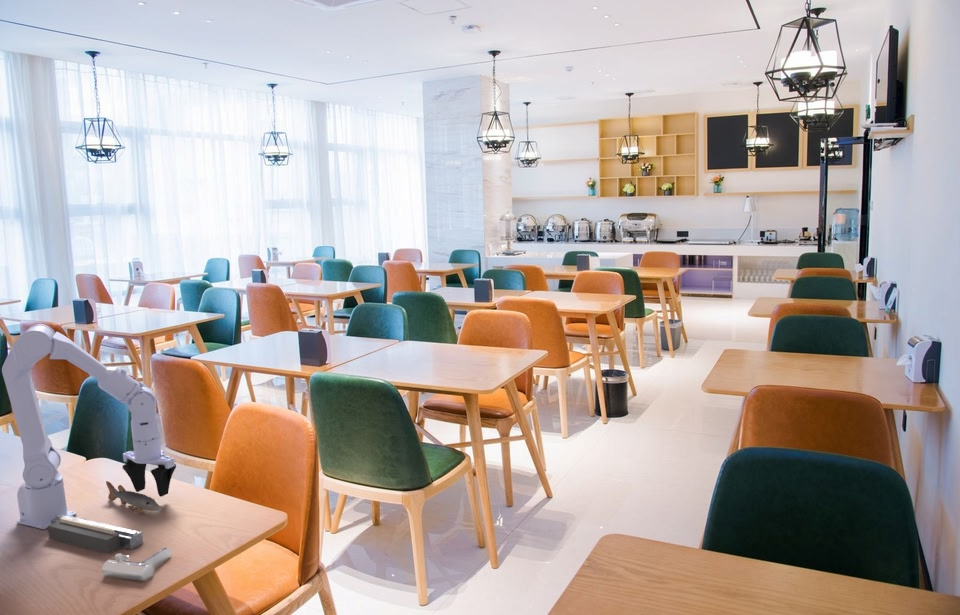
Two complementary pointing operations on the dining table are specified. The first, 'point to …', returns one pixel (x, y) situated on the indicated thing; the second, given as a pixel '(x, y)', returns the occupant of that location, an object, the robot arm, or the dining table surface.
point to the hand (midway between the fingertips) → (152, 492)
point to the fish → (132, 499)
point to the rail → (127, 536)
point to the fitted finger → (84, 535)
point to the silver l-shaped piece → (134, 566)
